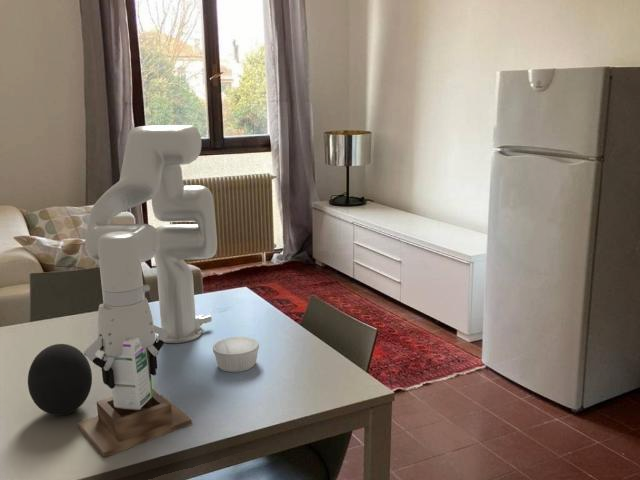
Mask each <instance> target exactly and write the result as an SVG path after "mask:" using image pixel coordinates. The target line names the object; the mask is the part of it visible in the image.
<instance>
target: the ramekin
mask: <svg viewBox="0 0 640 480" xmlns="http://www.w3.org/2000/svg"><path fill="white" fill-rule="evenodd" d="M259 348H260V344H259V342H258V341H257V340H256V339H255V338H253V337H247V336H232V337H231V336H230V337H227V338H223V339H221V340H219V341H217V342H216V343H214V344H213V346H212V351H213V354H214V357H215V360H216V365H217V367H218V368H219V369H221V370H222V371H224V372H227V373H228V372H229V373H240V372H243V371H248V370H249V369H251V368H253V367H254V366H255V364H256V363H257V360H258V352H259Z"/></svg>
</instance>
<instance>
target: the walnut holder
mask: <svg viewBox="0 0 640 480" xmlns="http://www.w3.org/2000/svg"><path fill="white" fill-rule="evenodd" d="M152 390H153V397H152V398H150V400H149V401H148V402H147V403H146V404H145V405H143V406H142V407H141V409H140V410H135V409H124V408H117V407H114V402H113V395H112V396H110V397H106V398H104V399H101V400H98V401H97V400H96V409H97V415H96V416H94V417H90V418H88V419H85V420H82V421H79V422H78V427H79V429H80V430H81V431H82V433H84V436H86V437H87V439H88V440H89V441H90V442H91V443H92V445H93V446H95V448H96V449H97V450H98V452H99V453H100V454H101V456H103V458H106V457H109V456H113V455H115V454H116V453H120V452H122V451H125V450H127V449H131V448H132V447H135V446H138V445H140V444H143V443H146V442H147V441H151V440H153V439H155V438H159V437H161V436H164V435H165V434H169V433H171V432H173V431H176V430H179V429H182V428H184V427H186V426H187V427H188V426H190V425H191V424H192V423H193V420H192V418H191V417H190V416H189V415H187V413H185V412H184V411H182V410H181V409H180V408H179V407H177V405H175V404H174V403H173V402H172V401H170V400H169V399H168V398H167V397H165V396H164V395H163V394H159V393H158V392H157V391H156V390H155V389H153V388H152Z"/></svg>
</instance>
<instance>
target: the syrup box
mask: <svg viewBox="0 0 640 480" xmlns="http://www.w3.org/2000/svg"><path fill="white" fill-rule="evenodd" d="M111 368H112V369H113V373H114V383H115V387H114V388H112V389H111V391H112V393H111V394H112V396H113V402H114V407H117V408H124V409H135V410H140V409H141V407H142V406H143V405H145V404H146V403H147V402H148V401H149V400H150V398H152V397H153V390H154V389H153V381H152V375H151V370H150V360H149V351H148V349H147V348H145V349H142V346H141V344H140V340H139V338H133V339H128V340H124V342H123V352H122V355H120V356H117V357H115V358H114V361H113V363H112V365H111ZM152 389H153V390H152Z"/></svg>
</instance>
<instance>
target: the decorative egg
mask: <svg viewBox="0 0 640 480" xmlns="http://www.w3.org/2000/svg"><path fill="white" fill-rule="evenodd" d="M92 373H93V372H92V368H91V365H90V363H89V359H88V357H87V356H85V355H84V352H82V351H81V350H79V349H78V348H76V347H75V346H72V345H71V344H67V343H57V344H52V345H49V346H47V347H45V348H44V349H42V350H41V351H40V352H39V353H38V354H37V355H36V356H35V357H34V358H33V361H32V362H31V365H30V366H29V370H28V375H27V388H28V392H29V395H30V397H31V399H32V401H33V403H34V404H35V405H36V406H37V407H38V408H39V409H40V410H41V411H43V412H45V413H47V414H49V415H52V416H65V415H68V414H71V413H73V412H75V411H76V410H78V409H79V408H80V407H81V406H82V405H83V404H84V403H85V401H86V400H87V398H88V397H89V396H90V395H89V394H90V392H91V389H92V385H93V374H92Z"/></svg>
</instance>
